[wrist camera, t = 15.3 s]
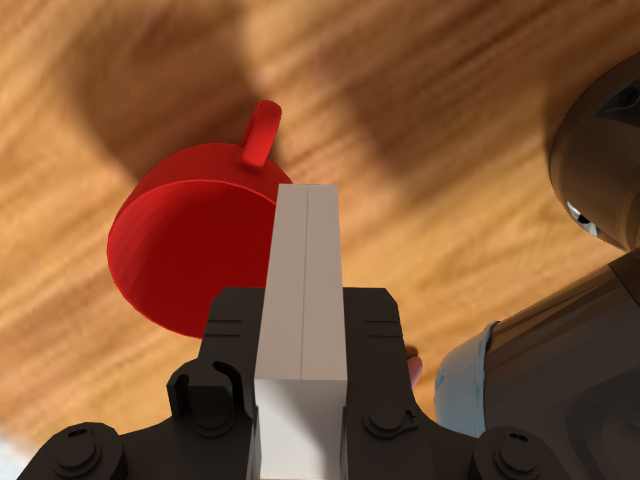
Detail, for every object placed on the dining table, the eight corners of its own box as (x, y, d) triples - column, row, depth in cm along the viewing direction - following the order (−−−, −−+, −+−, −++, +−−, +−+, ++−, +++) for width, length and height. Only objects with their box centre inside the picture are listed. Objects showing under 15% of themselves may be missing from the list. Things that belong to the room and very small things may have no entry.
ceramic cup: (364, 100, 39) (378, 167, 31) (278, 274, 48) (272, 361, 40) (184, 25, 36) (148, 78, 28) (127, 226, 45) (88, 310, 37)
